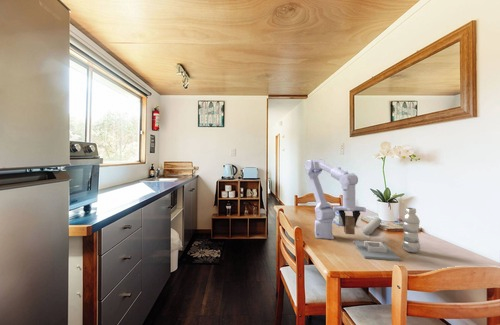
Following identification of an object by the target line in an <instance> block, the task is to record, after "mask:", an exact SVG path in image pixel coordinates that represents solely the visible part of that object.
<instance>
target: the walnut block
mask: <svg viewBox="0 0 500 325" xmlns="http://www.w3.org/2000/svg"><path fill="white" fill-rule="evenodd" d="M355 228H356V227H355V218H354V217H353V215H345V226H343V232H344V234H345V235H355V234H356V233H355V231H356V230H355Z"/></svg>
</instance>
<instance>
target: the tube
mask: <svg viewBox="0 0 500 325" xmlns="http://www.w3.org/2000/svg"><path fill="white" fill-rule="evenodd" d="M380 223H381V224H382V219H381V218H379V217H376V216H375V217H373V218H372V220H371V221H369V222H368V223H367V224H366V225H364V227H363V228H362V233H363V234H364V235H367V236H370V235H371V234H372V233H373V232H374V231H375V230H376V229H377V228H378V227H379V226H381V224H380Z"/></svg>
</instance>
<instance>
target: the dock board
mask: <svg viewBox="0 0 500 325" xmlns="http://www.w3.org/2000/svg"><path fill="white" fill-rule="evenodd" d="M353 244H354V245H355V246H356V248H357V249H358V251H359V252H360V254H361V255H362V257H363V258H364V259H369V260H385V261H395V262H396V261H398V262H401V260H402V259H401V257H399V255H398V254H397V253H396V252H394V251H393V249H392V248H390V247H389V246H388V245H387V244H386V243H385V242H383V241H370V240H368V241H367V240H353Z"/></svg>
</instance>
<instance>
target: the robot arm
mask: <svg viewBox="0 0 500 325" xmlns="http://www.w3.org/2000/svg"><path fill="white" fill-rule="evenodd" d="M304 168H305V170H306V174H307V178H308V181H309V184H310V187H311V191H312V193H313V197H314V199H315V201H316V202H315V203H316V206H315V207H314V212H315V218H316V219H315V220H314V236H315V238H316V239H324V240H325V239H329V240H330V239H331V240H334V239H335V237H334V235H333V219H334V218H335V211H338V212H339V214H340V216H341V218H342V222H343V226H342V227H344V226H345V216H347V215H346V212H351V213H352V216H353V217H354V218H355V228H356V227H357V222H358V220H359V217H360V215H361V212H362V213H366V212H367V211H366V207H364V206H356V185H357V184H358V183H359V177H358V176H357V175H356V174H355V173H353V172H351V173H349V172H348V171H347V170H344V169H342V168H341V166H340V167H339V166H336V167H333V166H332V165H330V164H329V163H327V162H326V161H325V160H323V159H308V160H306V161H305V165H304ZM322 171H325V172H327V173H329V174H330V177H332V178H333V179H335V180H337V181H339V183H340V185H341V189H342V205H338V206H334V205H333V206H332V204H330V203H329V202H327V199H326V196H325V193H324V191H323V188H322V185H321V182H320V180H319V175H320V174H321V173H322Z"/></svg>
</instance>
